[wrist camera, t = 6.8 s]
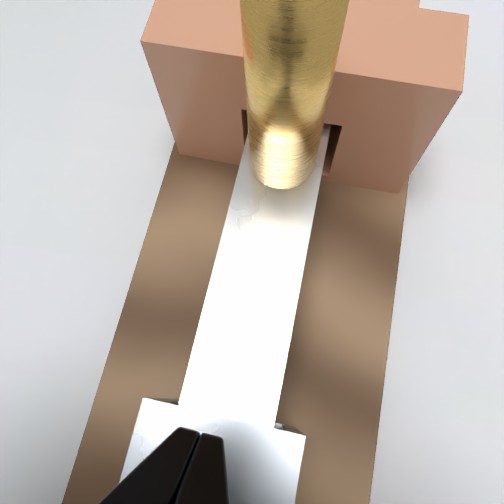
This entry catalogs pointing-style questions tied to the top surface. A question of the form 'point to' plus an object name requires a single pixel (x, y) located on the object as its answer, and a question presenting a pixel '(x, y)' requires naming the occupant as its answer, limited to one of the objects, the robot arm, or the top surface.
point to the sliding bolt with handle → (267, 209)
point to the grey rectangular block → (227, 449)
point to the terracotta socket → (342, 90)
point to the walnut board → (302, 337)
